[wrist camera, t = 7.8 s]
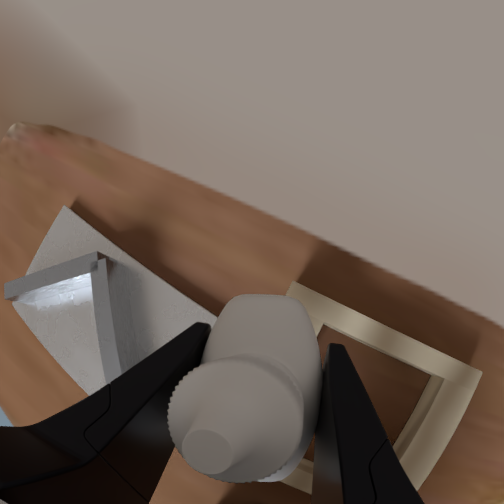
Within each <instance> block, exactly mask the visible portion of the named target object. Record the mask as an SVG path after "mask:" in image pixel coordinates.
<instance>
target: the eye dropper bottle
mask: <svg viewBox="0 0 504 504" xmlns="http://www.w3.org/2000/svg"><path fill="white" fill-rule="evenodd" d="M322 387H323V373H322V363H321V356H320V350H319V346H318V341H317V337H316V334H315V331H314V327H313V325H312V322H311V319H310V317H309V315H308V313H307V311H306V309H305V307H304V306H303V305H302V303H301V302H300V301H299V300H297V299H295V298H292V297H289V296H282V295H267V294H243V295H239V296H236V297H234V298H232V299H231V300H230V301H229V302H228V303H227V304H226V305H225V307H224V309H223V310H222V312H221V313H220V315H219V317H218V318H217V320H216V322H215V324H214V326H213V328H212V330H211V333H210V335H209V337H208V340H207V343H206V345H205V348H204V351H203V355H202V358H201V362H200V365H199V367H197V368H194V369H193V371H190V372H188V375H186V376H183V380H181V381H179V385H178V386H175V391H173V392H172V395H173V397H170V402H171V403H168V405H169V409H168V410H167V411H168V414H169V415H168V416H167V418H168V420H169V421H168V422H167V423H168V425H169V428H168V429H169V431H170V436H171V437H172V441H173V442H174V444H175V447H176V448H177V449H178V452H179V453H180V454H181V455H182V457H183V458H184V459H185V460H186V462H187V463H188V464H189V465H190V466H191V467H192V468H193V469H194V470H196V471H198V472H200V473H203V474H204V475H207V476H209V477H210V478H214V479H216V480H221V481H223V482H224V481H227V482H229V483H231V482H234V483H239V482H240V483H245V482H249V483H251V482H252V481H259V482H275V481H280V480H283V479H284V478H286V477H287V476H289V475H290V474H291V473H292V472H293V471H294V469H295V468H296V467H297V466H298V464H299V463H300V461H301V460H302V458H303V456H304V455H305V453H306V451H307V449H308V447H309V445H310V443H311V441H312V438H313V435H314V433H315V430H316V426H317V422H318V417H319V411H320V403H321V395H322Z"/></svg>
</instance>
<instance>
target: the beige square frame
mask: <svg viewBox="0 0 504 504" xmlns="http://www.w3.org/2000/svg"><path fill="white" fill-rule="evenodd" d="M285 296H289V297H292V298H295V299H297V300H299V301H300V302H301V303H302V305H303V306H304V307H305V309H306V311H307V313H308V315H309V317H310V319H311V322H312V325H313V327H314V331H315V334H316V337H317V335H318V333H319V331H320V329H321V327H322V325H323V324H324V325H326V326H328V327H330V328H332V329H334V330H336V331H338V332H340V333H342V334H344V335H346V336H348V337H350V338H353V339H355V340H357V341H359V342H361V343H363V344H365V345H367V346H369V347H371V348H374V349H376V350H378V351H380V352H382V353H384V354H386V355H389V356H391V357H393V358H395V359H397V360H399V361H402V362H404V363H406V364H408V365H410V366H412V367H415V368H417V369H419V370H421V371H423V372H426V373H428V374H430V375H431V377H430V379H429V381H428V383H427V385H426V387H425V389H424V391H423V393H422V395H421V397H420V399H419V401H418V403H417V405H416V407H415V409H414V410H413V412H412V414H411V416H410V418H409V420H408V421H407V423H406V425H405V427H404V428H403V430H402V432H401V433H400V435H399V437H398V439H397V440H396V442H395V443H394V445H393V449H394V451H395V453H396V455H397V457H398V459H399V461H400V463H401V465H402V467H403V469H404V471H405V472H406V474H407V476H408V478H409V479H410V481H411V483H412V484H413V486H414V487H415V489H416V491H418V489H419V488H420V486H421V485H422V484H423V482H424V481H425V479H426V478H427V476H428V475H429V473H430V472H431V470H432V469H433V467H434V466H435V464H436V462H437V461H438V459H439V458H440V456H441V454H442V453H443V451H444V449H445V448H446V446H447V444H448V442H449V441H450V439H451V437H452V435H453V434H454V432H455V430H456V428H457V426H458V424H459V422H460V420H461V418H462V416H463V415H464V413H465V411H466V408H467V406H468V404H469V402H470V400H471V398H472V396H473V394H474V391H475V389H476V387H477V385H478V382H479V380H480V378H481V375H482V373H483V372H482V371H480V370H478V369H475V368H473V367H471V366H469V365H467V364H465V363H463V362H461V361H459V360H456V359H454V358H452V357H450V356H448V355H446V354H444V353H442V352H440V351H438V350H435V349H433V348H431V347H429V346H427V345H425V344H423V343H421V342H419V341H417V340H415V339H412V338H410V337H408V336H406V335H404V334H402V333H400V332H398V331H396V330H394V329H392V328H390V327H387V326H385V325H383V324H381V323H379V322H377V321H375V320H373V319H371V318H369V317H367V316H365V315H363V314H361V313H358V312H356V311H354V310H352V309H350V308H348V307H346V306H344V305H342V304H340V303H338V302H336V301H334V300H332V299H330V298H328V297H326V296H323V295H321V294H319V293H317V292H315V291H313V290H311V289H309V288H307V287H305V286H303V285H301V284H299V283H297V282H295V281H292V283H291V285H290V287H289V289H288V291H287V293H286V295H285ZM313 466H314V462H312V461H309V460H307V459H305V458H302V460H301V461H300V463H299V464H298V466H297V467H296V468H295V469H294V471H293V472H292V473H291V474H290V475H289V476H287V477H286V478H284V479H283V480H280V482H282V483H285V484H287V485H289V486H292V487H294V488H297V489H299V490H301V491H304V492H307V493H309V494H312V481H313Z"/></svg>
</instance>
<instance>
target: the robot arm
mask: <svg viewBox="0 0 504 504" xmlns="http://www.w3.org/2000/svg"><path fill="white" fill-rule="evenodd" d="M211 330H212V329H211V325H210V324H208V323H203V322H196V323H194V324H193V325H191V326H190V327H188V328H187V329H186V330H184V331H183V332H181V333H180V334H179V335H177V336H176V337H174V338H173V339H172V340H170V341H169V342H167V343H166V344H164V345H163V346H162V347H160V348H159V349H157V350H156V351H154V352H153V353H152V354H150V355H149V356H147V357H146V358H144V359H143V360H142V361H140V362H139V363H137V364H136V365H134V366H133V367H131V368H130V369H129V370H127V371H126V372H124V373H123V374H121V375H120V376H118V377H117V378H115V379H114V380H113V381H111V382H110V384H109V383H108V384H107V385H105V386H104V387H102V388H101V389H99V390H98V391H96V392H95V393H93V394H91V395H90V396H88V397H87V398H85V399H83V400H81V401H80V402H78V403H76V404H74V405H72V406H71V407H69V408H67V409H65V410H63V411H61V412H59V413H57V414H55V415H53V416H51V417H49V418H47V419H45V420H43V421H41V422H39V423H36V424H33V425H30V426H24V427H7V426H0V504H149V502H150V500H151V497H152V495H153V493H154V491H155V489H156V487H157V484H158V482H159V480H160V478H161V476H162V473H163V471H164V469H165V467H166V465H167V462H168V460H169V458H170V456H171V454H172V452H173V449H174V447H175V444H174V442H173V441H172V437H171V436H170V431H169V429H168V428H169V425H168V423H167V422H168V421H169V420H168V418H167V416H168V415H169V414H168V411H167V410H168V409H169V405H168V403H171V402H170V397H173V395H172V392H173V391H175V386H178V385H179V381H181V380H183V376H186V375H188V372H190V371H193V369H194V368H197V367H199V365H200V362H201V358H202V355H203V351H204V348H205V345H206V343H207V340H208V337H209V335H210V333H211ZM322 373H323V387H322V395H321V403H320V411H319V417H318V422H317V426H316V430H315V447H314V466H313V481H312V495H311V504H424V502H423V500H422V499H421V497H420V496H419V494H418V492H417V491H416V489H415V487H414V486H413V484H412V483H411V481H410V479H409V478H408V476H407V474H406V472H405V471H404V469H403V467H402V465H401V463H400V461H399V459H398V457H397V455H396V453H395V451H394V449H393V447H392V445H391V443H390V440H389V439H387V438H388V436H387V434H386V432H385V430H384V428H383V425H382V423H381V421H380V419H379V417H378V415H377V413H376V410H375V408H374V406H373V404H372V402H371V400H370V398H369V396H368V394H367V392H366V390H365V387H364V385H363V383H362V381H361V379H360V377H359V375H358V373H357V371H356V369H355V367H354V365H353V363H352V361H351V359H350V357H349V355H348V353H347V351H346V349H345V347H344V345H342V344H335V343H330V344H329V345H328V348H327V352H326V356H325V360H324V364H323V370H322Z"/></svg>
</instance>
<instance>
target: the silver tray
mask: <svg viewBox="0 0 504 504" xmlns="http://www.w3.org/2000/svg"><path fill="white" fill-rule="evenodd" d="M4 289H5V299H6V300H11V301H13V303H12V305H13V307H14V308H15V309H16V311H17V312H18V314H19V315H20V316H21V318H22V319H23V320H24V322H25V323H26V324H27V326H28V327H29V328H30V329H31V331H32V332H33V333H34V335H35V336H36V337H37V338H38V340H39V341H40V342H41V343H42V344H43V346H44V347H45V348H46V349H47V350H48V352H49V353H50V354H51V355H52V356H53V357H54V359H55V360H56V361H57V362H58V363H59V364H60V365H61V366H62V368H63V369H64V370H65V371H66V372H67V373H68V374H69V375H70V376H71V377H72V378H73V379H74V380H75V382H76V383H77V384H78V385H79V386H80V387H81V388H82V389H83V390H84V391H85V392H86V393H87V394H88V395H89V396H90V395H91V394H93V393H95V392H96V391H98V390H99V389H101V388H102V387H104V386H105V385H107V384H108V383H109V384H110V382H111V381H113V380H114V379H115V378H117V377H118V376H120V375H121V374H123V373H124V372H126V371H127V370H129V369H130V368H131V367H133V366H134V365H136V364H137V363H139V362H140V361H142V360H143V359H144V358H146V357H147V356H149V355H150V354H152V353H153V352H154V351H156V350H157V349H159V348H160V347H162V346H163V345H164V344H166V343H167V342H169V341H170V340H172V339H173V338H174V337H176V336H177V335H179V334H180V333H181V332H183V331H184V330H186V329H187V328H188V327H190V326H191V325H193V324H194V323H196V322H203V323H208V324H210V325H211V329H212V328H213V326H214V324H215V322H216V320H217V318H218V316H216V315H215V314H213V313H212V312H210V311H209V310H207V309H206V308H204V307H203V306H201V305H200V304H198V303H197V302H195V301H194V300H192V299H191V298H190V297H188V296H187V295H185V294H184V293H182V292H181V291H179V290H178V289H176V288H175V287H174V286H172V285H171V284H169V283H168V282H167V281H165V280H164V279H162V278H161V277H159V276H158V275H157V274H155V273H154V272H152V271H151V270H150V269H148V268H147V267H146V266H144V265H143V264H141V263H140V262H139V261H137V260H136V259H135V258H133V257H132V256H131V255H129V254H128V253H127V252H125V251H124V250H123V249H121V248H120V247H119V246H117V245H116V244H115V243H113V242H112V241H111V240H109V239H108V238H107V237H105V236H104V235H103V234H102V233H100V232H99V231H98V230H96V229H95V228H94V227H93V226H91V225H90V224H89V223H88V222H86V221H85V220H84V219H82V218H81V217H80V216H79V215H77V214H76V213H75V212H74V211H73V210H71V209H70V208H68V207H67V206H65V205H64V206H63V208H62V209H61V211H60V213H59V214H58V216H57V218H56V219H55V221H54V223H53V224H52V226H51V228H50V230H49V231H48V233H47V235H46V237H45V238H44V240H43V242H42V244H41V246H40V248H39V249H38V251H37V253H36V255H35V257H34V259H33V261H32V263H31V265H30V267H29V269H28V271H27V273H26V275H25V276H23V277H21V278H18V279H15V280H13V281H10V282H7V283H5V284H4Z"/></svg>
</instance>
